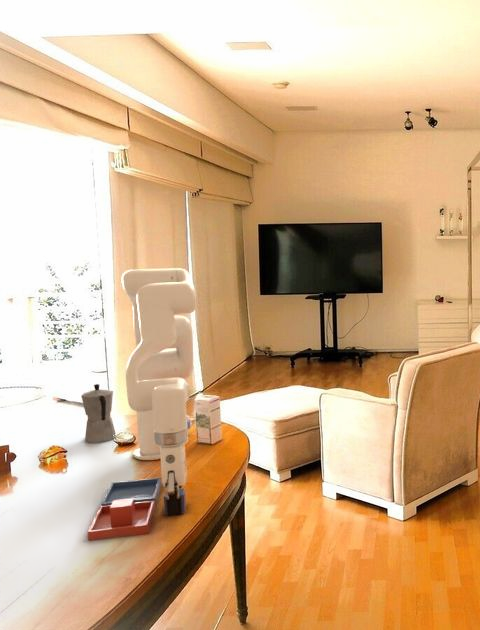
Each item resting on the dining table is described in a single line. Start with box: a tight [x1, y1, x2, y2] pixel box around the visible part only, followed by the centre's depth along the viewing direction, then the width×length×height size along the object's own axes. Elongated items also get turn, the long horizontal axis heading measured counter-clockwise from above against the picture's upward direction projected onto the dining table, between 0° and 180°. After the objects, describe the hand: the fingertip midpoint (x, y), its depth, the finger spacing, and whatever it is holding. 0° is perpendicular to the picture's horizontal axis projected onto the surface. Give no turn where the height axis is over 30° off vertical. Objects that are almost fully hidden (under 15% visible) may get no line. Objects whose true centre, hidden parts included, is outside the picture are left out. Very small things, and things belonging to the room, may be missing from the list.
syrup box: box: [194, 394, 223, 445], centre depth 214 cm, size 6×6×14 cm
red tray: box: [87, 500, 156, 541], centre depth 156 cm, size 14×12×2 cm
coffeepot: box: [80, 383, 117, 444], centre depth 217 cm, size 15×9×18 cm, turn 37°
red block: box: [110, 498, 135, 527], centre depth 156 cm, size 4×4×4 cm
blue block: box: [163, 487, 187, 516], centre depth 163 cm, size 4×4×4 cm
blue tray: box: [100, 477, 163, 507], centre depth 171 cm, size 14×12×2 cm
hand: (175, 508), depth 163 cm, fingers closed on blue block, 4 cm apart
